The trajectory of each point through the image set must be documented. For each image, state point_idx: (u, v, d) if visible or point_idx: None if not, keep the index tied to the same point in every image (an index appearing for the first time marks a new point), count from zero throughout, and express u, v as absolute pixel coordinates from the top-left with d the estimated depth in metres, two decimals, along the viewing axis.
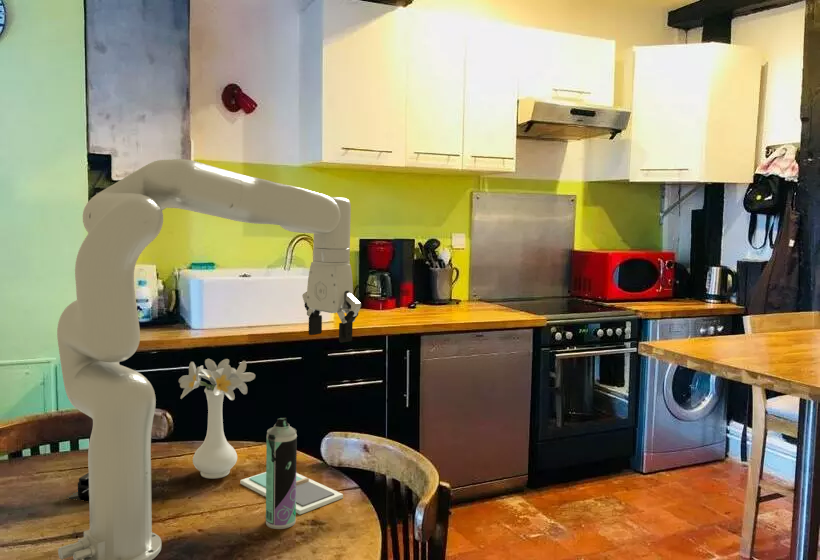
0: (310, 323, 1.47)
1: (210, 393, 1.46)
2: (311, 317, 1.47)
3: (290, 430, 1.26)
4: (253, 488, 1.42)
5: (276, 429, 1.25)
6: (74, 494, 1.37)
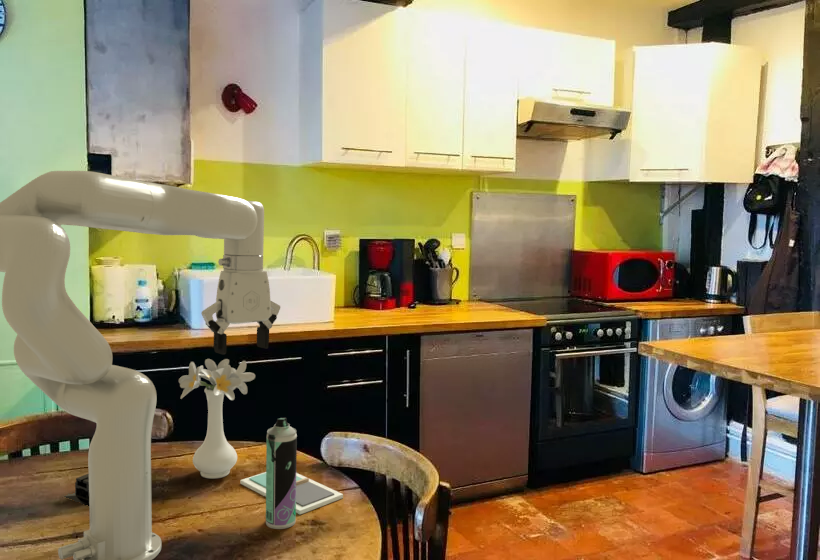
0: (225, 341, 1.31)
1: (210, 393, 1.46)
2: None
3: (290, 430, 1.26)
4: (253, 488, 1.42)
5: (276, 429, 1.25)
6: (74, 493, 1.37)
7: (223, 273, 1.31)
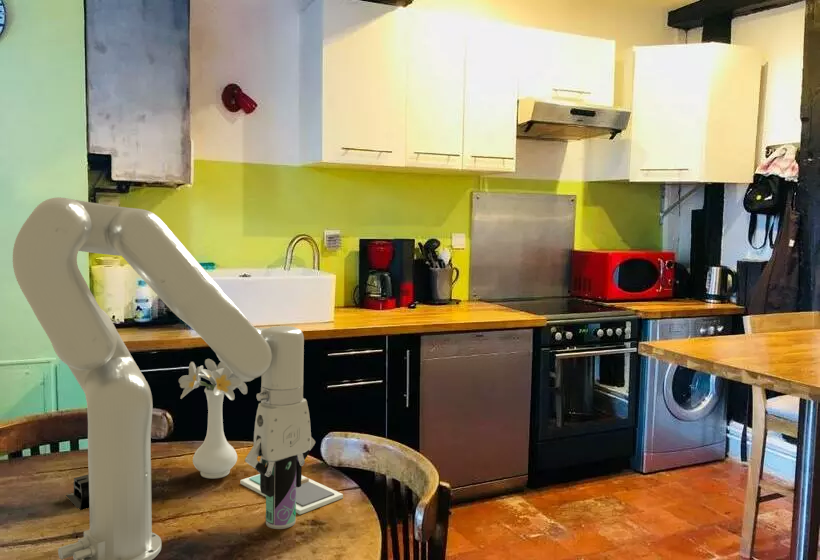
0: (273, 483, 1.24)
1: (210, 393, 1.46)
2: (272, 476, 1.24)
3: None
4: (253, 488, 1.42)
5: None
6: None
7: (261, 408, 1.23)
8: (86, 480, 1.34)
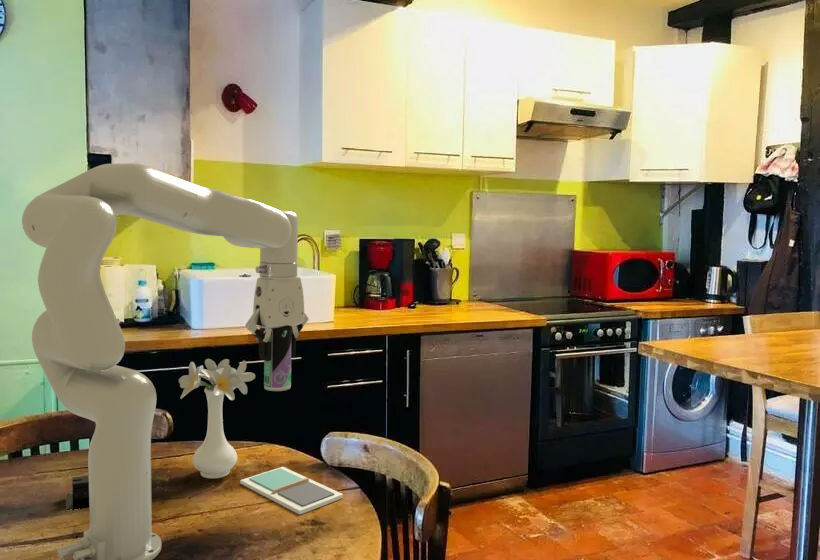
0: (270, 348, 1.39)
1: (210, 393, 1.46)
2: (269, 342, 1.39)
3: None
4: (253, 488, 1.42)
5: None
6: None
7: (260, 280, 1.38)
8: (79, 482, 1.34)
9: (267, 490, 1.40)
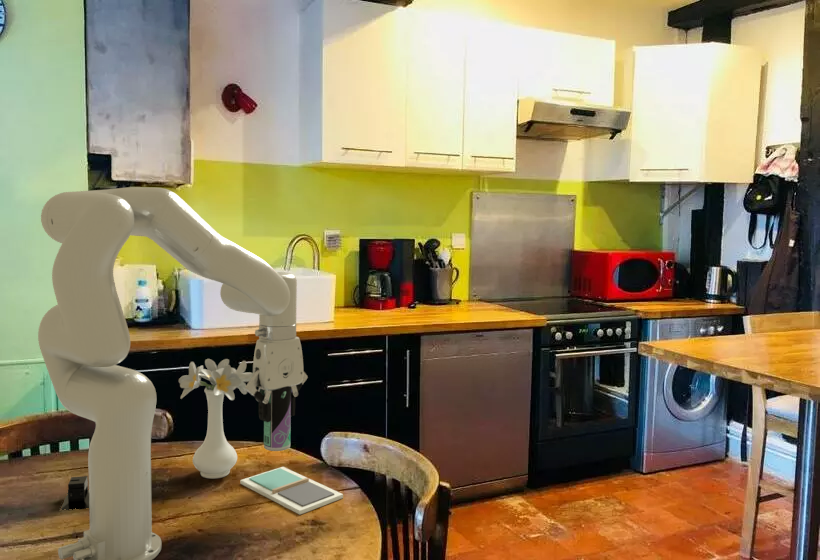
0: (270, 410, 1.41)
1: (210, 393, 1.46)
2: (269, 403, 1.41)
3: None
4: (253, 488, 1.42)
5: None
6: None
7: (259, 343, 1.39)
8: (75, 482, 1.34)
9: (267, 490, 1.40)
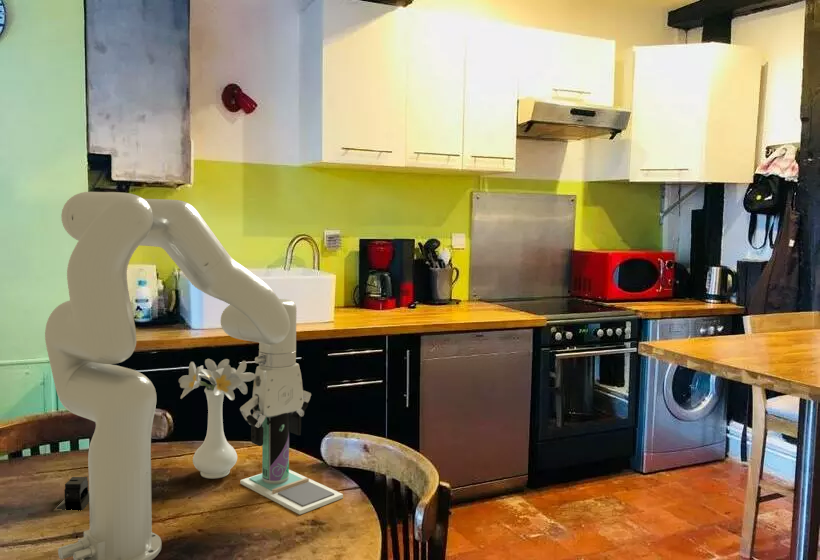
0: (262, 433, 1.40)
1: (210, 393, 1.46)
2: (261, 427, 1.40)
3: None
4: (253, 488, 1.42)
5: None
6: None
7: (259, 370, 1.40)
8: (72, 482, 1.33)
9: (267, 490, 1.40)
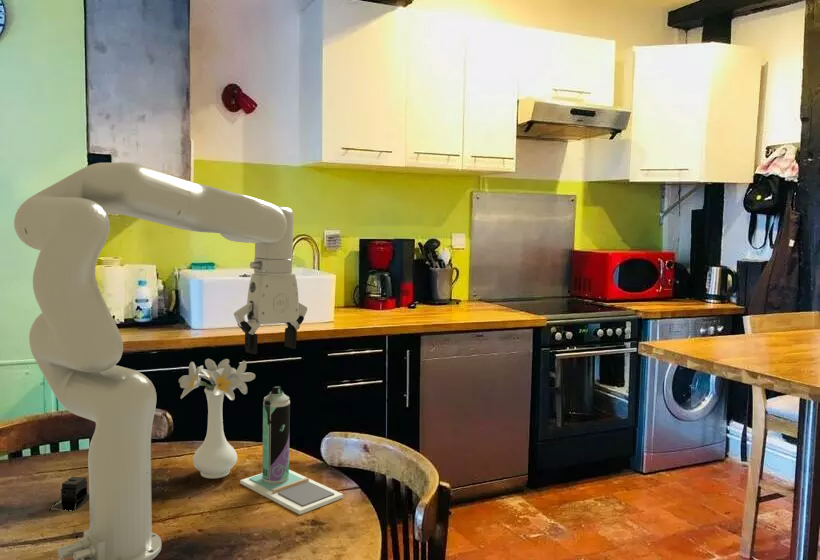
0: (256, 341, 1.37)
1: (210, 393, 1.46)
2: None
3: (284, 397, 1.43)
4: (253, 488, 1.42)
5: (271, 396, 1.42)
6: None
7: (254, 276, 1.37)
8: (69, 482, 1.33)
9: (267, 490, 1.40)
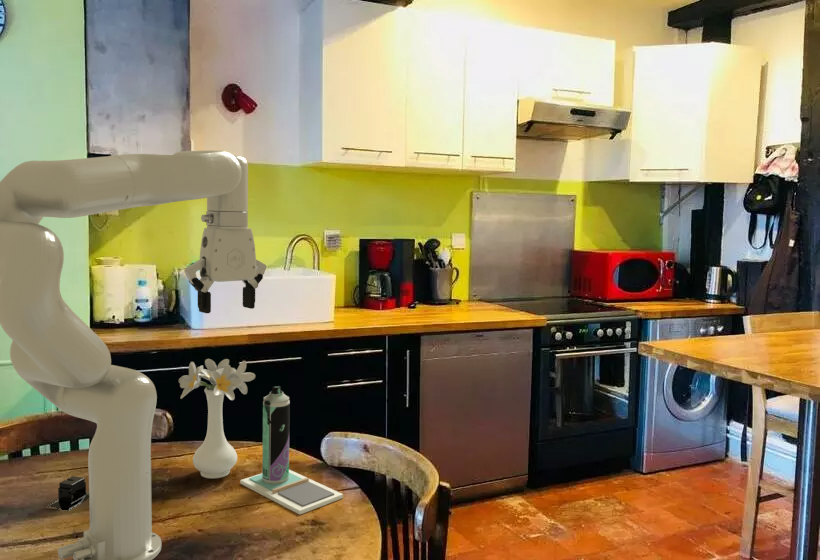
0: (209, 299, 1.28)
1: (210, 393, 1.46)
2: None
3: (283, 397, 1.43)
4: (253, 488, 1.42)
5: (271, 396, 1.42)
6: None
7: (206, 230, 1.28)
8: (66, 482, 1.33)
9: (267, 490, 1.40)
